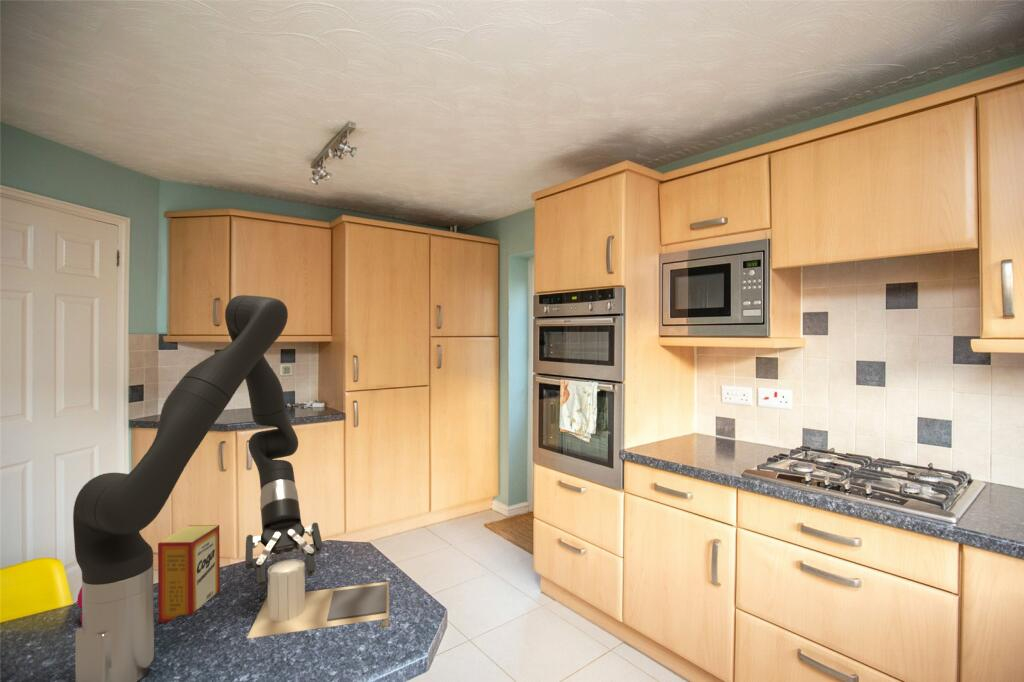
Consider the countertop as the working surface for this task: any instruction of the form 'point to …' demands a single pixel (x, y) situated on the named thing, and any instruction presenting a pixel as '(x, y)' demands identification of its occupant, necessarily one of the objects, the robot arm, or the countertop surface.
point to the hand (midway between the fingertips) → (287, 580)
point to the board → (330, 610)
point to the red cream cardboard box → (188, 570)
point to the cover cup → (286, 590)
